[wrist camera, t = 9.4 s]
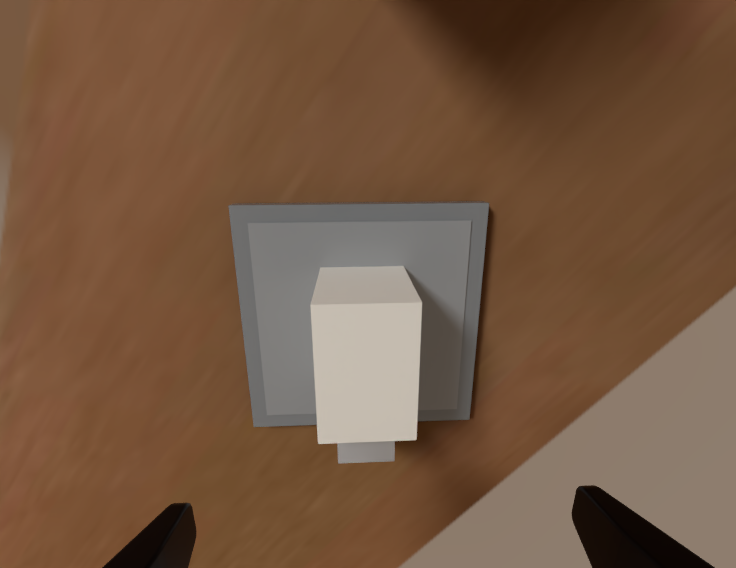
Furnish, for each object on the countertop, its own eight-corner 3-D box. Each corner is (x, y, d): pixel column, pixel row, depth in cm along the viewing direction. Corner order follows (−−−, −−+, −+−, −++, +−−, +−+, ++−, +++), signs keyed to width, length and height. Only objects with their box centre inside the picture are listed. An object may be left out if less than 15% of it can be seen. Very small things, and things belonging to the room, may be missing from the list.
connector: (403, 266, 19) (422, 302, 14) (399, 413, 21) (414, 486, 16) (320, 267, 18) (310, 304, 14) (327, 415, 21) (320, 490, 16)
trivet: (483, 201, 19) (489, 203, 18) (465, 410, 22) (470, 420, 22) (233, 203, 18) (227, 205, 17) (257, 417, 22) (253, 428, 21)
